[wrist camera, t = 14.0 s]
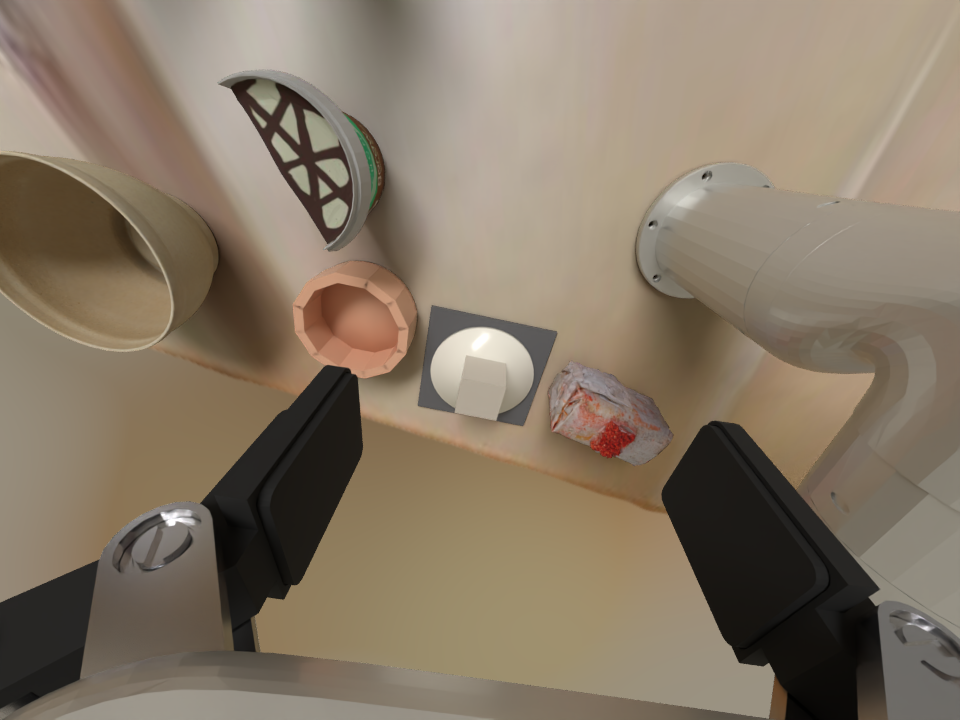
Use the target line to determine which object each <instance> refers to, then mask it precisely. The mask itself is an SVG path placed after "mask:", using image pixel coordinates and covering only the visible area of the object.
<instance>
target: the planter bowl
mask: <svg viewBox="0 0 960 720" xmlns="http://www.w3.org/2000/svg"><path fill="white" fill-rule="evenodd" d="M217 265H218V248H217V244H216V241H215V239H214V236H213V234H212V232H211V231H210V229H209V227H208V226H207V224H206V223H205V222H204V221H203V219H202V218H201V217H200V216H199V215H198V214H197V213H196V212H195V211H194V210H193V209H192V208H191V207H189V206H188V205H187V204H185V203H184V202H182V201H181V200H179V199H177V198H175V197H173V196H171V195H168V194H165V193H162V192H161V191H159V190H158V189H156V188H154V187H152V186H151V185H149V184H147V183H145V182H143V181H141V180H138V179H136V178H134V177H132V176H129V175H127V174H124V173H122V172H119V171H116V170H113V169H110V168H107V167H104V166H100V165H97V164H93V163H89V162H84V161H79V160H74V159H67V158H60V157H49V156H39V155H34V154H29V153H22V152H12V151H0V292H1V293H2V294H3V295H4V296H5V297H6V298H8V299H9V300H10V301H11V302H12V303H14V304H15V305H16V306H17V307H18V308H20V309H21V310H22V311H24V312H25V313H26V314H28V315H29V316H30V317H32V318H33V319H35V320H36V321H38V322H39V323H41V324H42V325H44V326H46V327H47V328H49V329H51V330H52V331H54V332H56V333H58V334H60V335H62V336H64V337H66V338H68V339H71V340H73V341H75V342H78V343H81V344H84V345H87V346H91V347H94V348H98V349H103V350H108V351H118V352H129V351H137V350H142V349H145V348H148V347H151V346H153V345H155V344H156V343H158V342H160V341H161V340H163V339H164V338H165V337H166V336H167V335H168V334H169V333H170V332H171V331H173V330H175V329H176V328H178V327H179V326H180V325H182V324H183V323H184V322H186V321H187V320H188V319H189V318H190V317H191V316H192V315H193V314H194V313H195V312H196V311H197V310H198V308H199V307H200V306H201V304H202V303H203V301H204V300H205V298H206V296H207V294H208V291H209V289H210V286H211V283H212V278H213V273H214V272H215V270H216V268H217Z"/></svg>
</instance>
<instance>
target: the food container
mask: <svg viewBox="0 0 960 720" xmlns="http://www.w3.org/2000/svg"><path fill="white" fill-rule="evenodd" d="M217 83H218V84H219V85H222V86H225V87H227V88H230V89H232V91H233V93H234V94H235V96H236V98H237V100H238V102H239V103H240V104H241V105H242V107H243V108H244V110H245V111H246V113H247V114H248V116H249V117H250V119H251V121H252V122H253V124H254V126H255V127H256V129H257V131H258V132H259V134H260V136H261V137H262V139H263V141H264V143H265V145H266V146H267V148H268V150H269V152H270V154H271V156H272V158H273V160H274V161H275V163H276V165H277V167H278V169H279V170H280V172H281V174H282V175H283V177H284V178H285V180H286V181H287V183H288V184H289V186H290V187H291V188H292V190H293V191H294V193H295V194H296V195H297V197H298V198H299V200H300V201H301V203H302V204H303V206H304V207H305V208H306V210H307V212H308V213H309V215H310V216H311V218H312V220H313V221H314V223H315V224H316V226H317V228H318V229H319V231H320V232H321V234H322V236H323V237H324V239H325V241H326V242H327V244H328V245H327V246H326V247H325V248H324V249H323V250H326V249H328V251H338V250H340V249H341V248H343V247H344V246H346V245H347V244H348V243H350V242H351V241H352V240H353V239H354V238H355V237H356V235H357V234H358V233H359V231H360V230H361V228H362V226H363V224H364V222H365V220H366V217H367V214H368V213H370V212H371V210H372V209H373V208H374V207H375V205H376V204H377V203H378V202H379V200H380V197H381V194H382V191H383V189H384V184H385V167H384V162H383V158H382V154H381V152H380V149H379V147H378V145H377V143H376V141H375V139H374V138H373V136H372V135H371V134H370V132H369V131H368V130H367V129H366V128H365V127H364V126H363V125H362V124H361V123H360V122H359V121H357V120H356V119H355V118H353V117H352V116H350V115H348V114H346V113H344V112H342V111H341V110H340V109H339V108H338V107H337V106H336V104H335V103H334V102H333V101H332V100H331V99H330V98H329V97H328V96H326V95H325V94H324V93H323V92H321V91H320V90H319V89H317V88H316V87H315V86H313V85H312V84H310V83H308V82H306V81H305V80H303V79H301V78H299V77H296V76H294V75H291V74H288V73H286V72H281V71H275V70H251V71H243V72H239V73H235V74H232V75H230V76H228V77H226V78H224V79H222V80H221V81H219V82H217Z"/></svg>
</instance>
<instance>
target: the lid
mask: <svg viewBox="0 0 960 720" xmlns="http://www.w3.org/2000/svg"><path fill="white" fill-rule="evenodd" d="M533 378H534V369H533V363H532V359H531V357H530V354H529V352H528V351H527V349H526V348H525V346H524V345H523V344H522V343H521V342H520V341H519V340H518V339H517V338H515V337H514V336H513V335H511V334H509V333H507V332H505V331H503V330H500V329H496V328H492V327H482V326H478V327H470V328H465V329H462V330H459V331H457V332H455V333H453V334H451V335H450V336H448V337H447V338H446V339H445V340H444V341H443V342H442V343H441V344H440V345H439V346H438V348H437V350H436V351H435V354H434V356H433V359H432V363H431V379H432V383H433V385H434V388H435V389H436V391H437V393H438V394H439V395H440V397H441V398H442V399H443V400H444V401H445V402H447V403H448V404H449V405H450V406H452V407H454V408H455V412H454V413H458V414H464V415H469V416H474V417H479V418H484V419H489V420H494V421H496V420H497V416H498V414H499V413H503V412H505V411H508V410H510V409H512V408H513V407H515V406H516V405H518V404H519V403H520V402H521V401H522V400H523V399H524V398H525V397H526V396H527V394H528V393H529V391H530V389H531V386H532V383H533Z"/></svg>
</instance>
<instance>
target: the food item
mask: <svg viewBox="0 0 960 720" xmlns="http://www.w3.org/2000/svg"><path fill="white" fill-rule="evenodd" d="M548 396H549V404H550V413H549V414H550V416H551V424H550V426H551V430H552V432H555V433H560V434H562V435H563V436H565V437H567V438H570V439H573V440H575V441H577V442H580V443H582V444H584V445H587V446H590V447H591V448H592V449H593V450H595V452H597V453H600V452H601V453H600V454H602V456H605V457H606V456H607V458H612V456H614V457H618V458H620V459H622V460H624V461H626V462H629V463H631V464H632V465H633V466H635V465H641V464H645V463H647V462H649V461H650V460H651V459H653V458H654V457H656V456H657V455H658V454H659V453H660V452H661V451H662V450H663V449H664V448H666V447H667V446H668V445H669V443H670V442H671V440H672V438H673V434H672V432H671V431H670V430H669V426H668V425H667V423H666V421H665V420H664V418H663V416H662V415H661V413H660V410H659V409H658V407H657V406H656V405H655V403H654V401H653V399H652V398H650V397H647V396H645V395H642V394H639V393H637V392H636V391H634V390H632V389H630V388H627V387H625V386H623V385H622V384H621V383H620V382H619V381H618V380H617V378H616V377H615V376H614V375H612V374H607V373H602V372H600V371H599V370H598V369H593V368H588V367H586V366H583V365H581V364H580V363H577V362H576V363H574V362H573V361H570V362H569V364H568V365H567V367H566V368H564V369H563V370H562V372H560V373H559V374H557V376H556V377H555V379H554V381H553V383H552V385H551V386H550V388H549V390H548Z"/></svg>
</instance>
